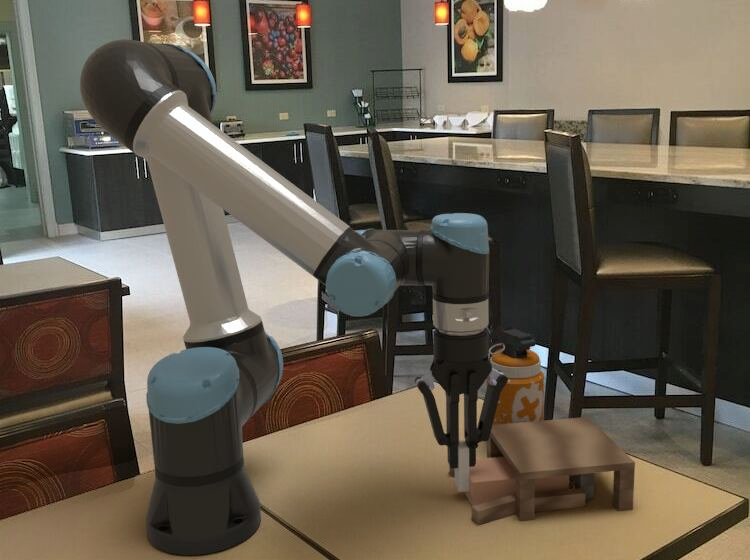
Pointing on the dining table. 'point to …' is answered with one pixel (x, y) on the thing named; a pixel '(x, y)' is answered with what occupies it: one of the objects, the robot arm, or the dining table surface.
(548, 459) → the shelf
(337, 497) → the dining table surface
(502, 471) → the pink foam brick
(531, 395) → the canister
